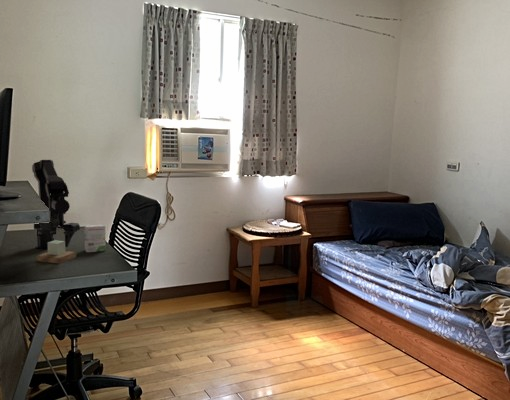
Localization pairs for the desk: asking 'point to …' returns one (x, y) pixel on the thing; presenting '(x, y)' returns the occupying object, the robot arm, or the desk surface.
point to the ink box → (95, 238)
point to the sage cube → (56, 247)
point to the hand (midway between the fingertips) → (57, 245)
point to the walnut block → (56, 257)
